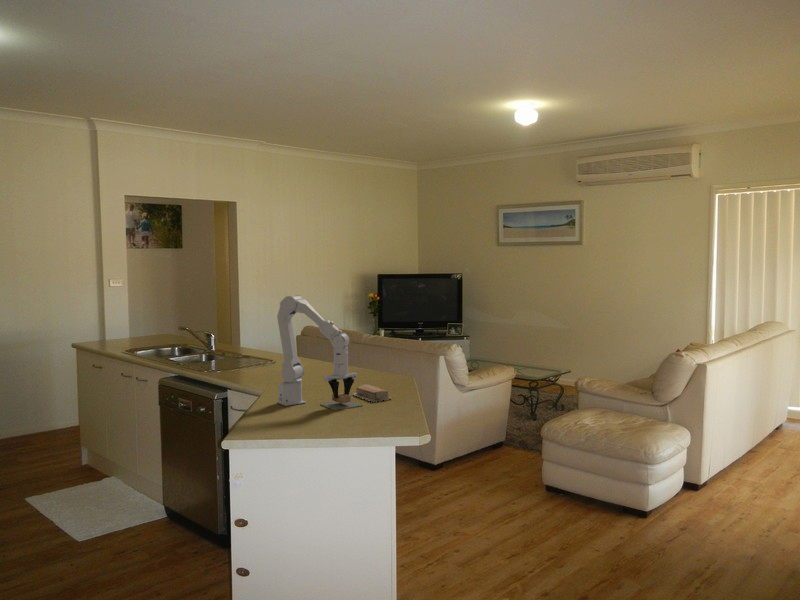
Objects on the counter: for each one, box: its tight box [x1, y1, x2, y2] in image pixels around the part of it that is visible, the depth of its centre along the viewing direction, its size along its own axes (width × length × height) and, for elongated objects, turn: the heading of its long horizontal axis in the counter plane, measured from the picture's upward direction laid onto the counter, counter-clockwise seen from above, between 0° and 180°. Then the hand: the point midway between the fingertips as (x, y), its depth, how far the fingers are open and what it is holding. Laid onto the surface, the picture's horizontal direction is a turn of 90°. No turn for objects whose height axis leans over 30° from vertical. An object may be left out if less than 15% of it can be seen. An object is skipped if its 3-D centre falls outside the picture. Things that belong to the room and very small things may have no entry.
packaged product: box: [351, 383, 393, 403], centre depth 277 cm, size 18×5×10 cm
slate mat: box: [319, 401, 364, 411], centre depth 262 cm, size 13×12×1 cm
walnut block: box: [331, 392, 352, 403], centre depth 262 cm, size 7×4×3 cm, turn 34°
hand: (341, 397), depth 262 cm, fingers closed on walnut block, 4 cm apart
